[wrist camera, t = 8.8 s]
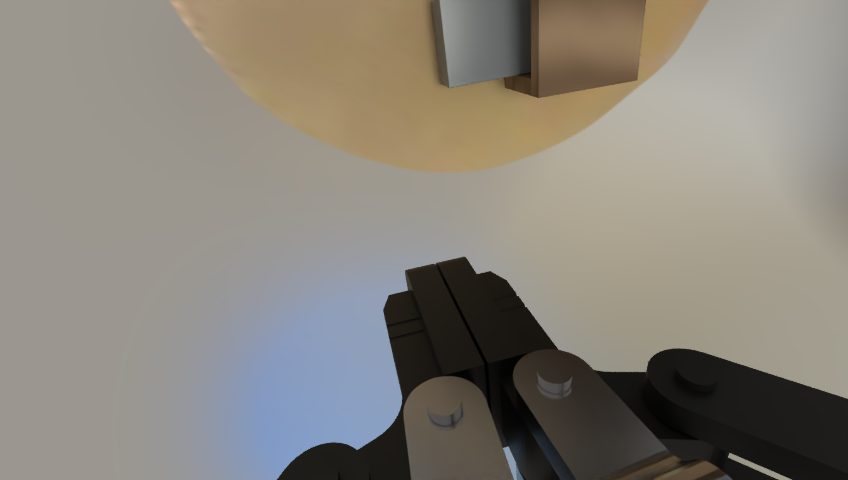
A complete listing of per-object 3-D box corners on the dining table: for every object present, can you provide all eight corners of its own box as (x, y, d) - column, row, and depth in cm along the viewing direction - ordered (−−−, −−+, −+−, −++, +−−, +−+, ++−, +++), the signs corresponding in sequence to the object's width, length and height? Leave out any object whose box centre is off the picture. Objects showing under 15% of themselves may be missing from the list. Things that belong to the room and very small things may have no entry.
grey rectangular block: (429, 2, 32) (439, -1, 30) (573, -22, 34) (594, -27, 31) (439, 83, 35) (449, 88, 32) (571, 58, 36) (591, 60, 34)
